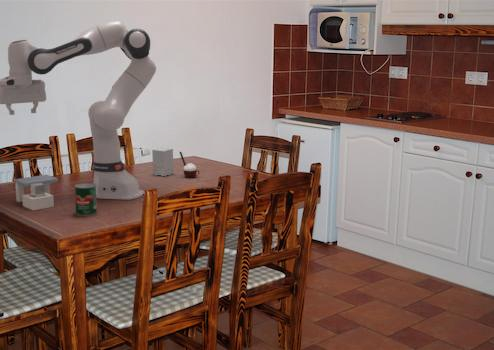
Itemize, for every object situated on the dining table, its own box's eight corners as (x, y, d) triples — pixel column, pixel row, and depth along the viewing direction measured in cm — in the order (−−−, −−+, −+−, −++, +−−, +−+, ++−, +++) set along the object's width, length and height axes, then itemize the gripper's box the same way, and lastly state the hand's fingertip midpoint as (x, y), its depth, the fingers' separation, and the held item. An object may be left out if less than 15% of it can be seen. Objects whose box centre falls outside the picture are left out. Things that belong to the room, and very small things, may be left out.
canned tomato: (77, 216, 248) (76, 188, 245) (74, 211, 255) (72, 183, 252) (98, 214, 251) (97, 186, 248) (94, 209, 258) (93, 182, 256)
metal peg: (45, 206, 262) (44, 184, 260) (36, 208, 259) (34, 185, 257) (41, 204, 264) (39, 182, 263) (31, 206, 262) (30, 184, 260)
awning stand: (69, 203, 266) (68, 182, 264) (32, 210, 256) (31, 187, 254) (47, 195, 279) (46, 174, 277) (12, 201, 269) (10, 179, 267)
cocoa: (200, 177, 317) (202, 153, 315) (192, 179, 312) (194, 154, 309) (185, 174, 322) (186, 150, 320) (177, 176, 317) (178, 151, 314)
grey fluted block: (173, 174, 322) (173, 148, 320) (164, 177, 316) (163, 151, 314) (162, 172, 326) (161, 147, 324) (152, 175, 320) (151, 149, 317)
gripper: (41, 78, 281) (42, 111, 284) (-7, 80, 267) (-5, 114, 270) (48, 79, 276) (49, 112, 279) (0, 81, 263) (2, 116, 266)
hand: (22, 113), depth 275 cm, fingers open, 8 cm apart
